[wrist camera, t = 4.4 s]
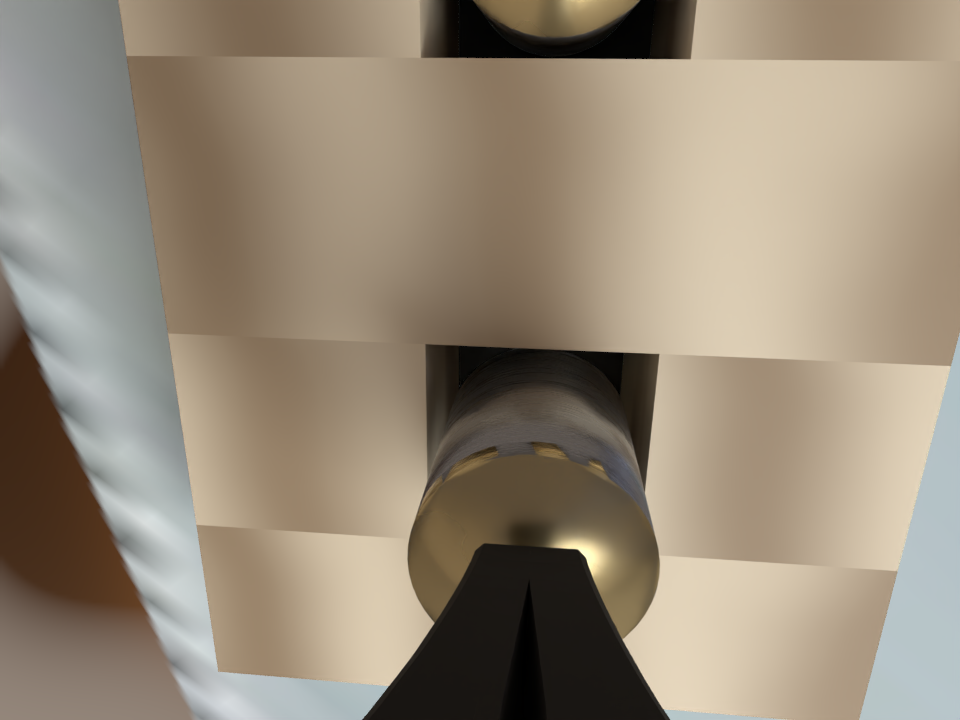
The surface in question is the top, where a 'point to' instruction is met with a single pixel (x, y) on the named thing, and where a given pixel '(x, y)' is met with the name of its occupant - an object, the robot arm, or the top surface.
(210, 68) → the twin-bore block
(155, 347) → the top surface
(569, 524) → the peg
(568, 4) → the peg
